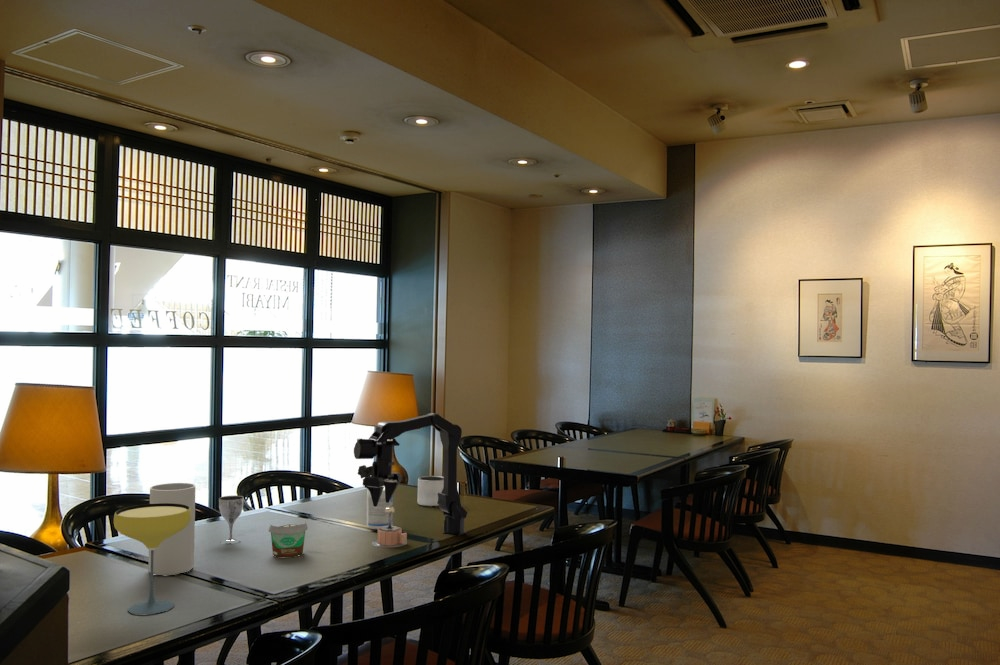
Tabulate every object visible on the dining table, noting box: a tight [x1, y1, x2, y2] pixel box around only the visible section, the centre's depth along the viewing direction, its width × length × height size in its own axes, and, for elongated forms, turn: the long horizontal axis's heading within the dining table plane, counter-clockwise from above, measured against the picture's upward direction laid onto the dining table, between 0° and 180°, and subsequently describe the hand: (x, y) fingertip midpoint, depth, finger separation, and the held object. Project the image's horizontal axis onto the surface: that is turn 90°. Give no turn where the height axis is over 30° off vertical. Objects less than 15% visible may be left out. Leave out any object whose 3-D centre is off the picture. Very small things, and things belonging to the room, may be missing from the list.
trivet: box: [371, 540, 408, 549], centre depth 266 cm, size 12×12×1 cm
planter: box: [416, 475, 444, 507], centre depth 335 cm, size 12×12×11 cm
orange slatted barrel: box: [377, 525, 408, 546], centre depth 266 cm, size 10×8×5 cm
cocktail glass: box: [113, 503, 191, 615], centre depth 200 cm, size 18×18×25 cm
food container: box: [268, 521, 308, 558], centre depth 251 cm, size 12×6×10 cm, turn 117°
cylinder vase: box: [148, 482, 196, 575], centre depth 233 cm, size 12×12×25 cm
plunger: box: [385, 506, 395, 532], centre depth 266 cm, size 5×5×8 cm
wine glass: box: [218, 495, 244, 541], centre depth 268 cm, size 8×8×15 cm
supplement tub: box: [366, 485, 394, 530], centre depth 291 cm, size 10×10×15 cm
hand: (381, 504), depth 268 cm, fingers open, 9 cm apart
